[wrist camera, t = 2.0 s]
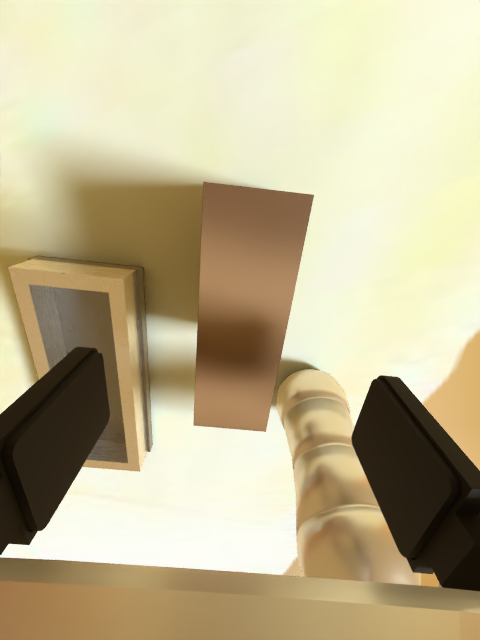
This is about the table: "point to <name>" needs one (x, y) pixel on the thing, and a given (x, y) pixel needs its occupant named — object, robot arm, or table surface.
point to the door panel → (245, 300)
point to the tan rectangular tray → (94, 341)
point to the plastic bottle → (334, 488)
